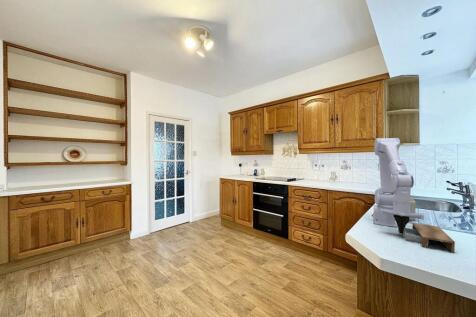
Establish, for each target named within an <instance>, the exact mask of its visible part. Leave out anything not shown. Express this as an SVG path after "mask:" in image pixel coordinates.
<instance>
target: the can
mask: <svg viewBox="0 0 476 317" xmlns="http://www.w3.org/2000/svg"><path fill="white" fill-rule="evenodd" d="M416 203H417V202H416V200H415V198H413V197H410V212H413V213H416V206H417V205H416ZM409 219H410V221H409V222H413V221H415V220H416V218H410V217H409Z"/></svg>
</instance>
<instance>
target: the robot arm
mask: <svg viewBox="0 0 476 317" xmlns="http://www.w3.org/2000/svg"><path fill="white" fill-rule="evenodd" d="M373 143H374V144H373V145H374V146H373V147H374V154H375V155H376V156H377V157H378V163H379V176H380V177H379V178H380V187H378V188H377V189H376V190H375V191H374V202H375V204H376V205H375V204H374V205H373V213H372V214H373V215H372V220H373V221H372V222H373V224H374V225H381V226H387V227H392V228H393V227H394V228H397V230H398V233H399V234H401V235H402V234H403V231H404V229H405V228H407V227H406V226H407V225H408V224H409V222H411V221H410V219H409V217H410V218H415V219H418V220H422V221H423V220H425V215H424V214H423V213H418V212H417V213H416V212H415V213H413V212H410V198H411V194H412V192H411V189H412V188H413V187H414V184H415V179H414V178H415V177H414V176H413V174H411V173H410V172H408V170H407V169H408V168H407V167H406V165H405V162H404V161H402V160H401V159H400V154H399V151H400V150H399V149H400V147H401V140H400V138H398V137H389V138H388V137H383V138H382V137H380V138H379V137H377V138H375V140H374V142H373Z"/></svg>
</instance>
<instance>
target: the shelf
mask: <svg viewBox="0 0 476 317" xmlns="http://www.w3.org/2000/svg"><path fill="white" fill-rule="evenodd" d="M411 227H412V228H411V229H416V230H417V231H418V233H419V234H420V235H421V237H422V238H421V244H420V246H421V248H425V249H428V245H429V240H431V241H436V242H437V241H438V242H441V243H442V244H443V245H444V246H445V247H446V249H447V250H448V251H449V252H450V253H452V254H455V248H456V247H455V246H456V244H455V243H456V241H455V240H454V239H453V238H451V237H450V235H448V234H447V233H446V232H445V231H444V230H443V229H442V228H441V227H440V226H439V225H438V226H437V225H430V224H422V223H416V222H412V226H411ZM428 239H429V240H428Z"/></svg>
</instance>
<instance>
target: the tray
mask: <svg viewBox="0 0 476 317" xmlns="http://www.w3.org/2000/svg"><path fill="white" fill-rule="evenodd" d="M401 235H402V237H403V239H404V240H405V242H409V243H410V242H411V243H414V244H415V243H417V244H420V245H421V238H422V237H421V235H420V234H419V233H418V231H417V230H416V229H412V228H410V227H405V229H404V231H403V234H401ZM429 240H430V239H428V241H429Z"/></svg>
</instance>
